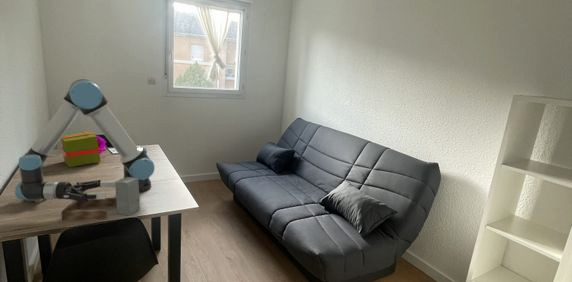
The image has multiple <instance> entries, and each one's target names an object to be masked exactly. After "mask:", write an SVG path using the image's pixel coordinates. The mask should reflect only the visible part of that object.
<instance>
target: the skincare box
mask: <svg viewBox="0 0 572 282" xmlns="http://www.w3.org/2000/svg"><path fill="white" fill-rule="evenodd" d="M114 182H115V198H116V200H117V206H116V208H117V209H116V211H117V214H118V215H122V216H123V215H124V216H131V215H133V214H134V213H136V212H138V211H139V210H140V209H141V204H140V202H141V201H140V192H139V185H138V178H132V177H126V178H123V177H122V178H120V179H119V180H116V181H114Z"/></svg>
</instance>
